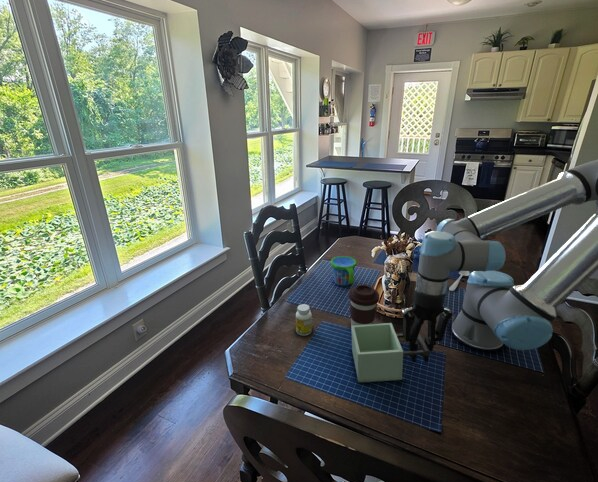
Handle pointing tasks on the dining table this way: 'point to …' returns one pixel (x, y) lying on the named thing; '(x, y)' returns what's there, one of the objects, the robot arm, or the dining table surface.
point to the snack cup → (343, 270)
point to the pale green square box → (380, 352)
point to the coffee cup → (363, 304)
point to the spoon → (463, 273)
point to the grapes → (417, 250)
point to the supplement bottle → (303, 320)
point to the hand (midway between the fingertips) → (418, 358)
